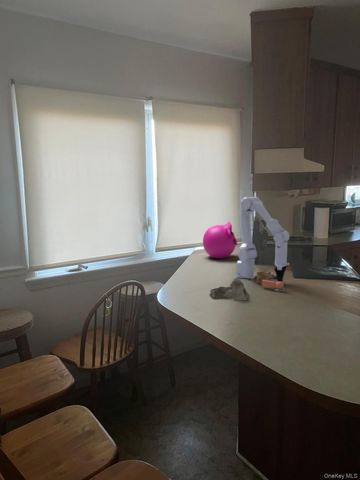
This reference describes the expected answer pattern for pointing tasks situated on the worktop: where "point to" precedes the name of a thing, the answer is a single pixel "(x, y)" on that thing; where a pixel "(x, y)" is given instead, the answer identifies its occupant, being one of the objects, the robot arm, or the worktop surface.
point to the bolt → (273, 277)
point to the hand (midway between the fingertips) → (280, 280)
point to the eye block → (263, 275)
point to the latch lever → (273, 284)
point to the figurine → (219, 241)
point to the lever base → (279, 290)
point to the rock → (231, 291)
